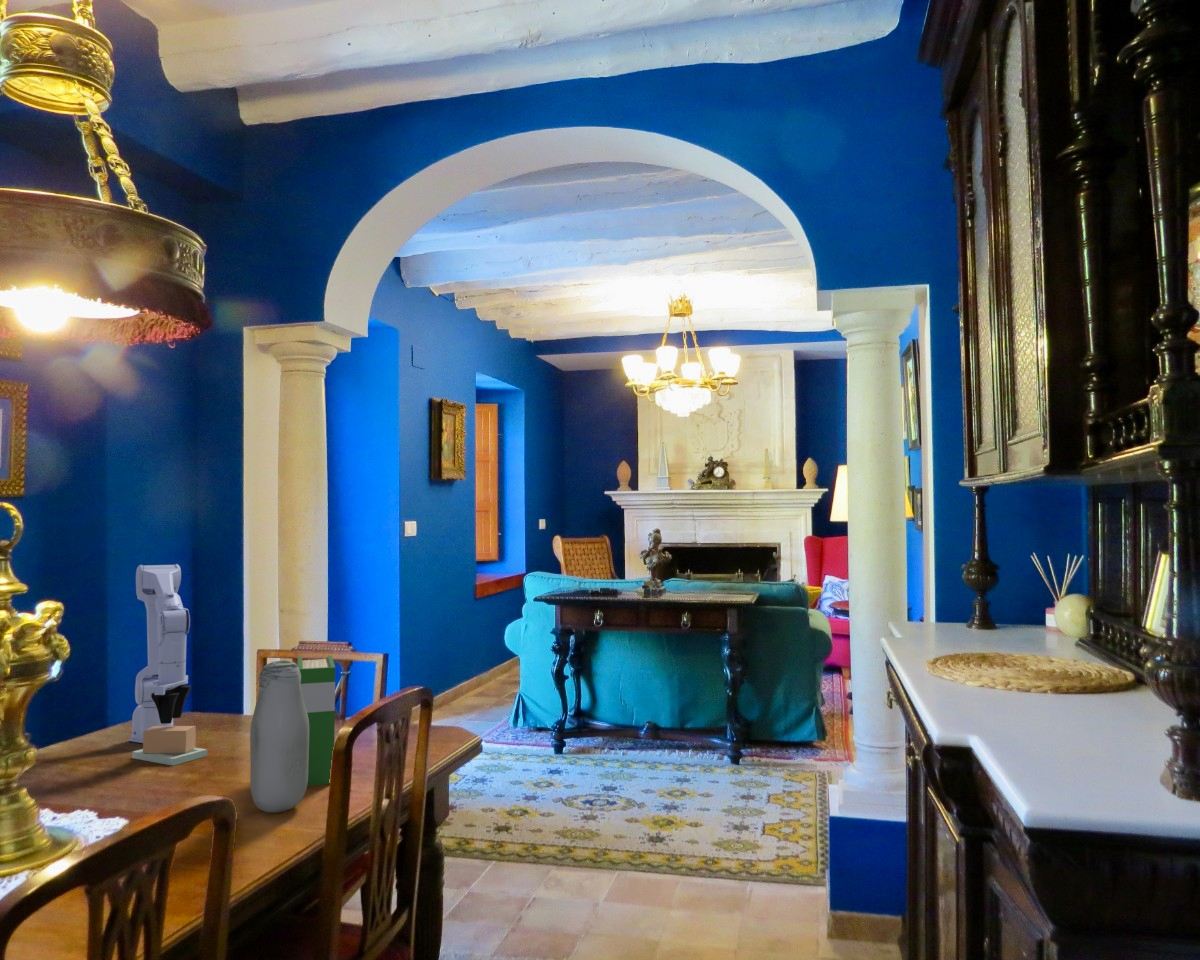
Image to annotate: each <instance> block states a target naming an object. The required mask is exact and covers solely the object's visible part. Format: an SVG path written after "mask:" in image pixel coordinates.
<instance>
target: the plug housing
mask: <svg viewBox="0 0 1200 960" xmlns="http://www.w3.org/2000/svg"><path fill="white" fill-rule="evenodd" d="M196 727H197V726H196V725H173V726H153V727H151V728H149V729H147V730H145V731H143V743H142V749H143V753H186V752H188V751H190V750H192V749H193V748H195V747H196V739H197V738H196V737H197V736H196V735H197V734H196V732H197V731H196V730H197V728H196Z"/></svg>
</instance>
